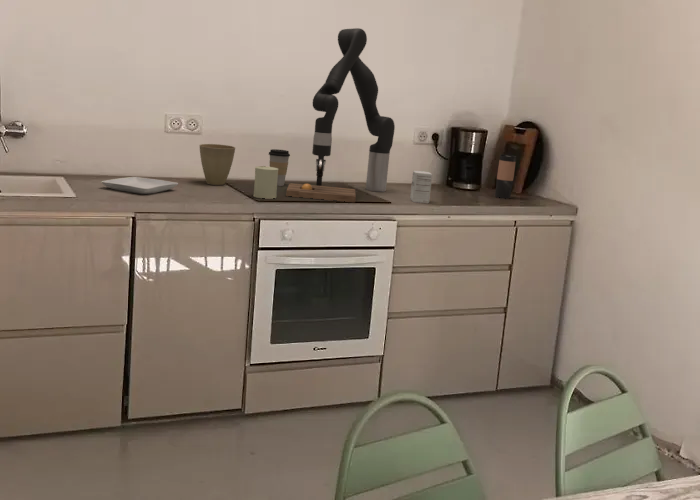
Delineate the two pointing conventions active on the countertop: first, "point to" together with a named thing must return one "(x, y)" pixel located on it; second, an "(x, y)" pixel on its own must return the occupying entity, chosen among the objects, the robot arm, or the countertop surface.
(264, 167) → the can
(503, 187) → the travel mug
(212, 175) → the plant pot
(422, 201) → the supplement box
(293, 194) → the wooden cutting board
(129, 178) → the salad plate
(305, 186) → the ball
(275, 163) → the coffee cup
